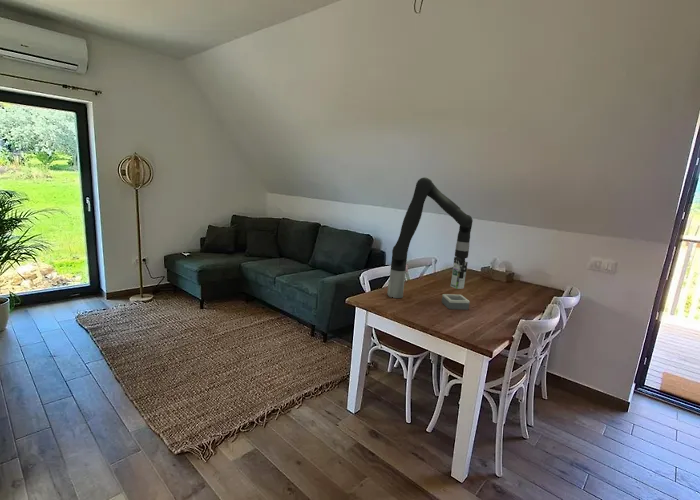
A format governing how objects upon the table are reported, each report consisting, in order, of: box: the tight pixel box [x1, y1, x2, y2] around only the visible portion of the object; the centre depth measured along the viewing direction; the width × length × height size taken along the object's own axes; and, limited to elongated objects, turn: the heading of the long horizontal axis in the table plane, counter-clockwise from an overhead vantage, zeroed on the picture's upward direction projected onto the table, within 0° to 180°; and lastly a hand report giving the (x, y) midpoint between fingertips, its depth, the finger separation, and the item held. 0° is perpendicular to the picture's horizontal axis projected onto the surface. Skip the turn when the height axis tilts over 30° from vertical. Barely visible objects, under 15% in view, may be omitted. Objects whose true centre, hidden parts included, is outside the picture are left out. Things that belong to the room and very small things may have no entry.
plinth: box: [441, 293, 470, 311], centre depth 223 cm, size 12×12×5 cm
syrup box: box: [450, 262, 467, 290], centre depth 220 cm, size 6×6×14 cm
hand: (458, 276), depth 220 cm, fingers closed on syrup box, 7 cm apart
